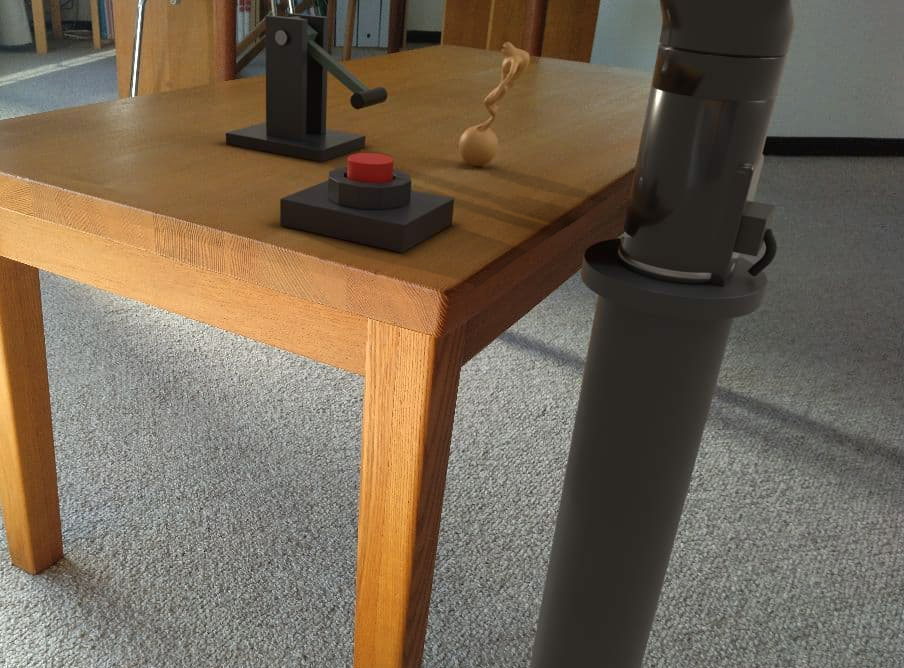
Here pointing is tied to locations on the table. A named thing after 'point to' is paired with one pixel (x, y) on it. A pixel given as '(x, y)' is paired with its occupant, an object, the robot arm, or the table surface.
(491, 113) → the figurine
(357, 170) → the button
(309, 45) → the lever
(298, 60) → the bracket
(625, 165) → the table surface
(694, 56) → the robot arm
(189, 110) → the table surface
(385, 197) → the button block
